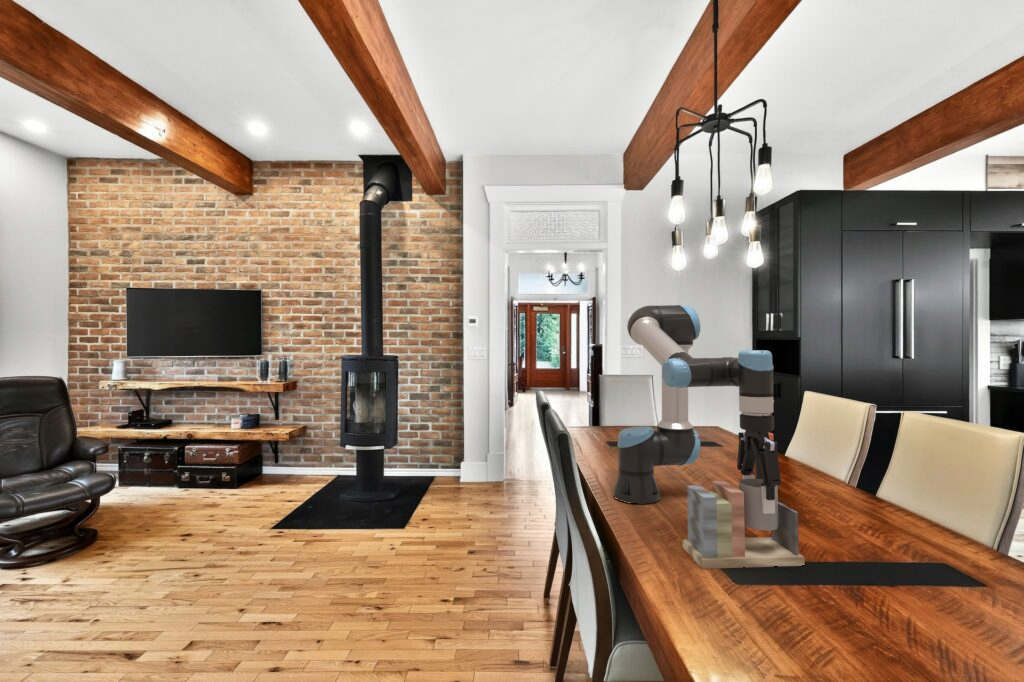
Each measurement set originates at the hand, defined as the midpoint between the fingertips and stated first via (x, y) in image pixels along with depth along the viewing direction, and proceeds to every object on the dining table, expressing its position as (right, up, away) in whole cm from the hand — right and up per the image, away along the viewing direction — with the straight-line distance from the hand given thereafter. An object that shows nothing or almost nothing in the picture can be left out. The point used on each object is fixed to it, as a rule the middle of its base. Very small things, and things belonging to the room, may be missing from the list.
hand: (758, 506), depth 120 cm
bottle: (+29, -12, +52) cm, 61 cm away
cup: (0, -4, 0) cm, 4 cm away
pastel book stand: (-4, -12, 0) cm, 13 cm away
